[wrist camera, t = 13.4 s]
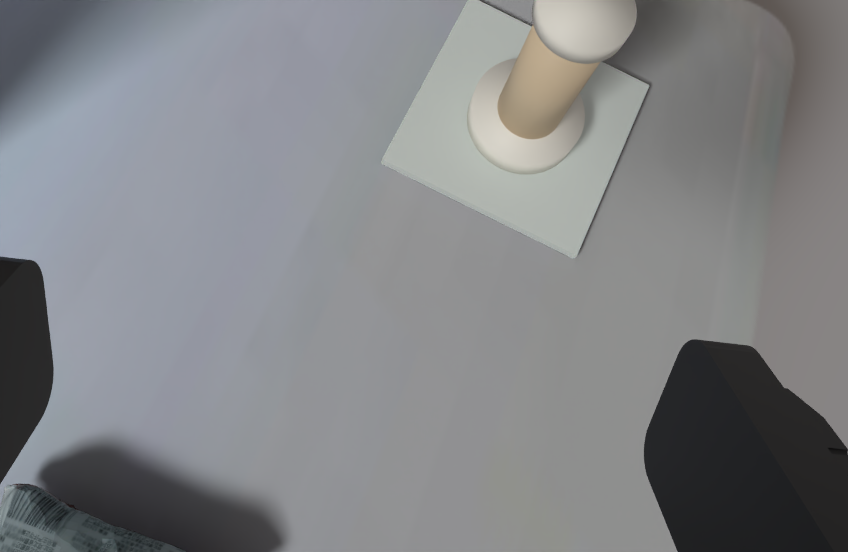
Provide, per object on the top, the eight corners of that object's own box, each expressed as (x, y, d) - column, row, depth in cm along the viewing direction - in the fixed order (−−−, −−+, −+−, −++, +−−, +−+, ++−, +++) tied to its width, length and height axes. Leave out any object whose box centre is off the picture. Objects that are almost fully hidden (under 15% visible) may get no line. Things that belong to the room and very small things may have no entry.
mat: (381, 163, 41) (381, 159, 40) (468, 2, 44) (470, -4, 43) (573, 258, 41) (576, 255, 40) (645, 90, 44) (649, 85, 44)
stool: (449, 144, 41) (492, 30, 30) (492, 55, 43) (547, -81, 32) (552, 193, 41) (630, 97, 30) (591, 102, 43) (678, -19, 32)
